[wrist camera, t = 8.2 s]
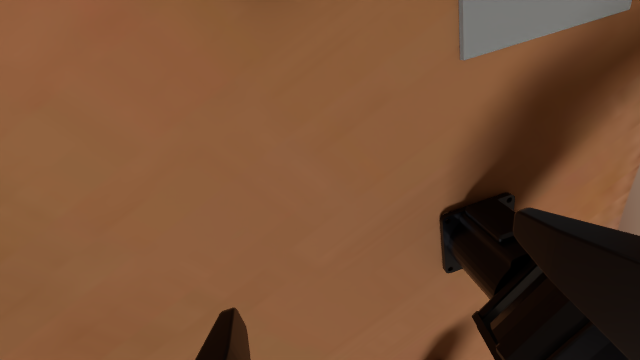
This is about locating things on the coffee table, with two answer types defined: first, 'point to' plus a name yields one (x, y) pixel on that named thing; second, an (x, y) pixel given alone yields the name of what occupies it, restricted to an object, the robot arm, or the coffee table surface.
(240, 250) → the coffee table surface
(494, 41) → the mat
